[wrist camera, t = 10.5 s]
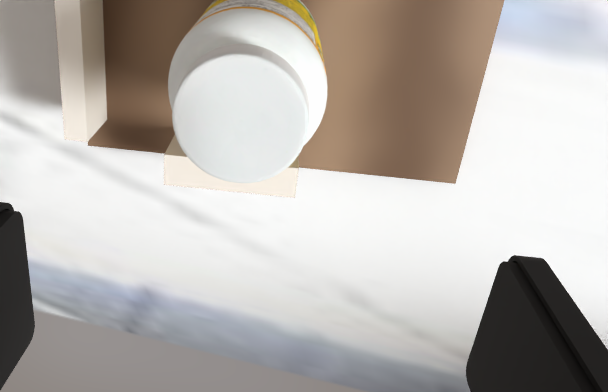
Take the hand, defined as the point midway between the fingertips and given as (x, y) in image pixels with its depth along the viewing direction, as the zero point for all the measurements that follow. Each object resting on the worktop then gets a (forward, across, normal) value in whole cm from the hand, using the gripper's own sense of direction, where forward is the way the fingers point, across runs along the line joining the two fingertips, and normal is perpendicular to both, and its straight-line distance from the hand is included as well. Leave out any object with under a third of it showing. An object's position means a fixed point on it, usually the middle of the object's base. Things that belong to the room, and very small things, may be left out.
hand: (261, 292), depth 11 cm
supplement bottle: (+18, +1, -1) cm, 18 cm away
